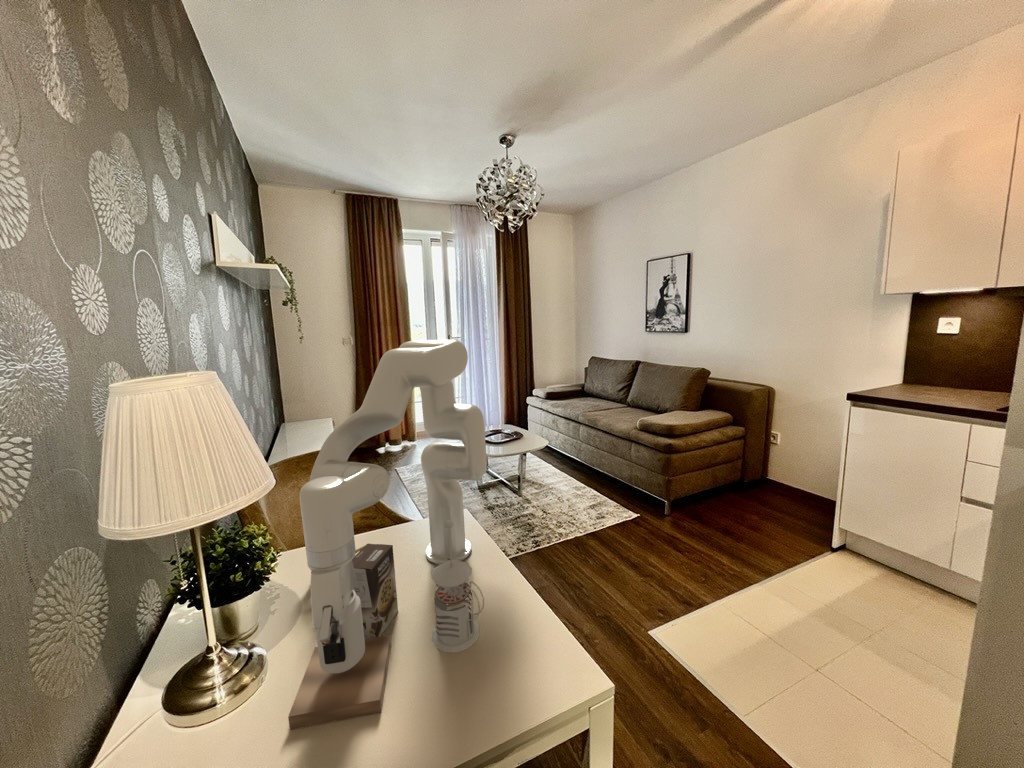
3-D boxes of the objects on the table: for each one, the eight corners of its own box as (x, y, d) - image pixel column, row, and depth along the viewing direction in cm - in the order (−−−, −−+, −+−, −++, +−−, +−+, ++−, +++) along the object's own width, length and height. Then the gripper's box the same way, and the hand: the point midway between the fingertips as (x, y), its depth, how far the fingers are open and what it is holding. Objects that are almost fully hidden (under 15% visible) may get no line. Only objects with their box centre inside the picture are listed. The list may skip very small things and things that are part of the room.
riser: (316, 658, 78) (315, 647, 77) (391, 646, 80) (390, 635, 80) (290, 730, 64) (288, 716, 64) (381, 712, 66) (379, 699, 66)
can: (328, 644, 74) (321, 586, 73) (370, 640, 75) (364, 582, 73) (313, 680, 67) (305, 616, 65) (359, 674, 68) (352, 611, 66)
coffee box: (378, 642, 81) (371, 569, 78) (349, 638, 82) (342, 566, 80) (399, 610, 90) (393, 544, 87) (373, 607, 91) (367, 541, 89)
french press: (449, 610, 89) (442, 505, 85) (495, 626, 84) (490, 515, 80) (421, 642, 81) (412, 527, 77) (470, 662, 75) (463, 540, 72)
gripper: (322, 527, 76) (332, 611, 78) (288, 586, 59) (302, 690, 62) (364, 522, 77) (372, 605, 80) (342, 578, 60) (353, 681, 63)
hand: (341, 641), depth 71 cm, fingers closed on can, 7 cm apart
